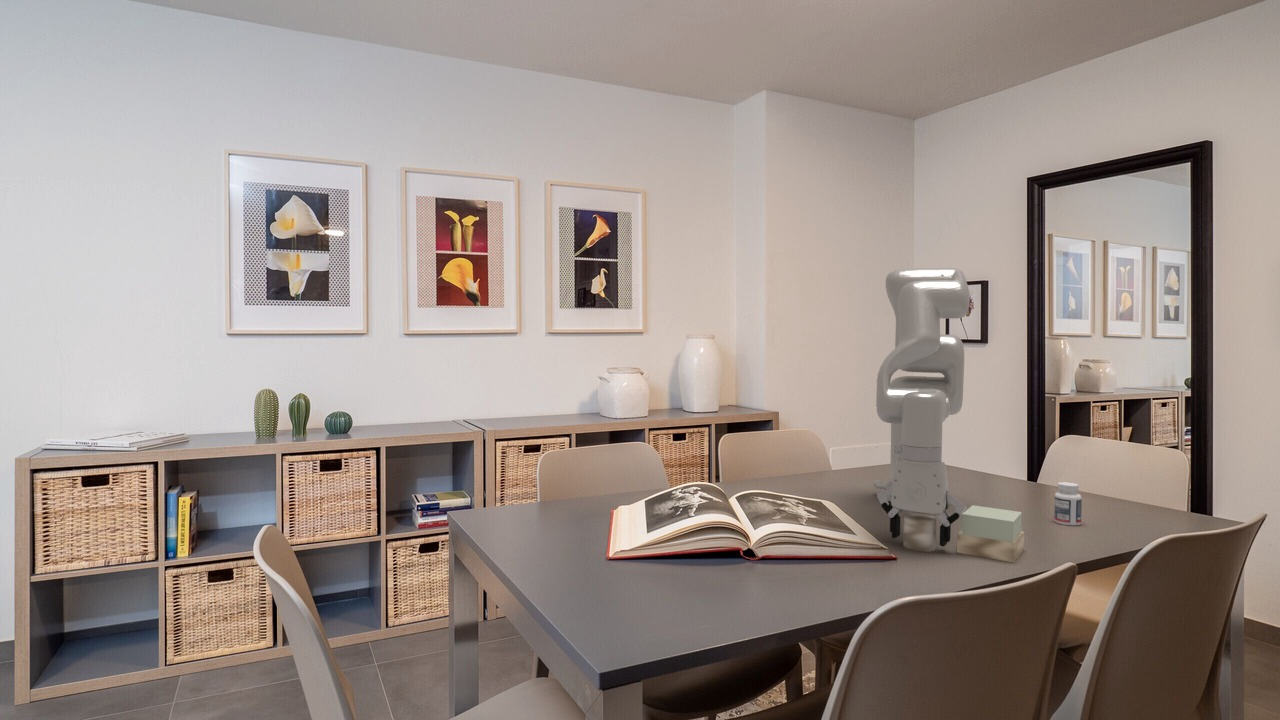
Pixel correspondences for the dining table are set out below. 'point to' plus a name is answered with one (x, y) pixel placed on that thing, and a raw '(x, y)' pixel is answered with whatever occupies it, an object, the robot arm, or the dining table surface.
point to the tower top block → (991, 523)
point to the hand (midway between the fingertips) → (919, 540)
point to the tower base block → (990, 547)
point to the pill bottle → (1068, 504)
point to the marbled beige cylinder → (919, 532)
